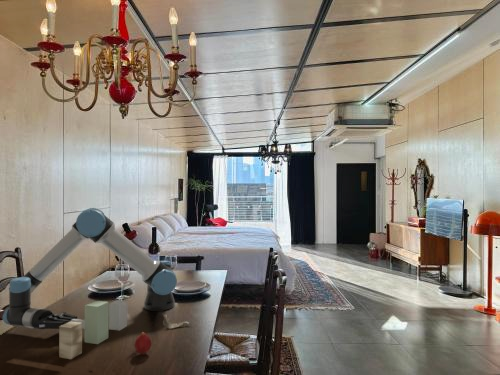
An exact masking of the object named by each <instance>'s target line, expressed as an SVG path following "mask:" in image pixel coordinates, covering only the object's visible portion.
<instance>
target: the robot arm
mask: <svg viewBox="0 0 500 375" xmlns="http://www.w3.org/2000/svg"><path fill="white" fill-rule="evenodd" d="M115 225H116V224H115V222H114V221H112V220H111V219H109V218H108V216H106V215H105V213H104V212H103V211H102V210H101V209H98V208H95V207H90V208H87V209H85V210H82V212H80V213H79V214H78V216H77V217H76V222H74V223H73V224H72V225H71V229H70V230H69V231H68V232H67V233H66V234H65V235H64V236H63V237H62V238H61V239H60V240H59V241H58V242H57V243H56V244H55V245H54V246H53V247H52V248H50V250H49V251H48V252H47V253H46V254H45V255H44V256H43V257H42V258H40V260H39V261H37V263H36V264H35V265H33V267H31V269H30V270H28V272H26V274H24V275H23V276H20V277H15V278H12V279H11V280H9V286H8V292H9V293H8V295H9V297H8V298H9V299H8V301H9V306H8V307H6V309H5V310H4V312H3V314H2V321H3V322H4V323H5V324H6V325H9V326H13V327H23V328H24V327H25V328H30V329H32V330H33V329H37V330H47V329H48V330H53V329H54V330H59V326H61V325H63V324H66V323H68V322H70V321H73V322H81V323H82V330H85V319H79V318H78V316H76V315H73V314H71V313H70V314H69V313H67V312H66V311H65V312H62V313H61V314H58V313H53V312H52V310H49V309H47V308H46V309H44V308H37V307H31V306H32V304H31V300H32V296H31V295H32V293H33V292H34V291H35V290H36V289H37V288H38V287H39V286H40V285H41V284H42V283H43V281H45V279H47V277H49V275H51V274H52V273H53V272H54V270H56V269H57V268H58V267H59V266H60V265H61V264H62V263H63V262H64V260H66V259H67V258H68V257H69V256H70V255H71V254H72V253H73V252H74V251H75V250H76V249H77V248H78V247H79V246H80V245H81V244H82V243H83V242H84V241H85V240H89V239H90V240H91V241H92V242H93V243H95V244H102V245H103V246H104V247H105V248H106V249H108V250H109V251H111V252H112V253H113V254H114V255H115V256H117V257H118V258H119V259H121V261H123V262H124V263H126V265H128V266H129V267H130V268H132V269H133V270H134V271H135V272H137V273H138V274H139V275H140V276H141V279H142V281H143V283H145V284H146V285H147V293H146V296H145V298H144V299H145V300H144V303H143V307H144V308H143V309H145V310H147V311H150V312H151V311H153V312H159V311H166V310H170V309H172V308H174V307H175V304H176V303H175V302H176V301H175V298H174V295H173V291H174V290H175V288H176V286H177V282H178V280H177V279H178V278H177V276H176V273H175V272H174V271H173V270H172V261H170V260H155V259H153V258H152V257H150V256H149V255H148V254H147V253H145V252H144V251H143V250H142V249H141V248H140V247H138V245H136V244H135V243H134V242H132V241H131V240H130V239H129V238H127V237H126V236H125V235H124V234H123V233H122V232H120V231H119V230H118V229H116V227H115Z"/></svg>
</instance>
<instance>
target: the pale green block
mask: <svg viewBox="0 0 500 375" xmlns="http://www.w3.org/2000/svg"><path fill="white" fill-rule="evenodd" d="M84 320H85V329H84V343H85V344H86V343H87V344H95V345H99V344H100V343H102V342H104V341H105V340H108V339H109V301H105V300H103V301H102V300H94V301H92V302H89V303H87V304H84Z"/></svg>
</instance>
